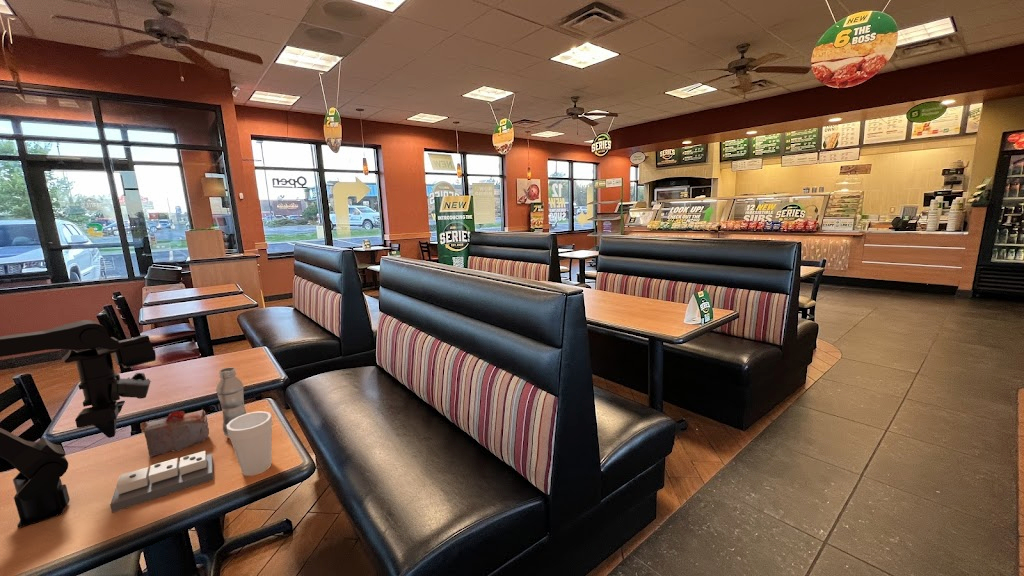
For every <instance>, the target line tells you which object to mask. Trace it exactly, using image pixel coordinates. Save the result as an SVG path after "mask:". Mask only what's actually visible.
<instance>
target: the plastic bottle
mask: <svg viewBox="0 0 1024 576" xmlns="http://www.w3.org/2000/svg"><path fill="white" fill-rule="evenodd" d="M236 375H237V373H236V368H235V367H226V368H222V369H219V378H220V381H219V382H218V384H217V386H216V389H215V392H216V394H217V397H218V400H219V403H220V407H221V411H222V431H223V434H224V436H226V437H227V438H229V436H228V432H227V426H226V425H227V424H228V423H229V422H230V421H231V420H233V419H235V418H236V417H238V416H241V415H244V414H247V411H246V407H245V399H244V398H245V397H244V383H243V382H242V380H240V378H238V377H237V376H236Z"/></svg>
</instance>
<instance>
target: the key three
mask: <svg viewBox="0 0 1024 576" xmlns="http://www.w3.org/2000/svg"><path fill="white" fill-rule="evenodd" d="M206 453H207V452H206V450H203V451H198V452H195V453H193V454H188V455H185V456H181V457H180V459H179V463H180V465H179V469H180V474H181V475H183V474H186V473H189V472H193V471H196V470H199V469H202V468H206V467H207V457H206V455H207V454H206Z"/></svg>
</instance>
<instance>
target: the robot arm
mask: <svg viewBox="0 0 1024 576" xmlns="http://www.w3.org/2000/svg"><path fill="white" fill-rule="evenodd" d="M98 348H101V349H100V350H97V349H98ZM47 350H51V351H52V350H63V351H64V350H66V351H68V352H67V353H66V354H65V355H63V357H61V360H62V361H63V362H64V363H65V364H68V363H73V362H75V363H76V367H77V372H78V377H79V381H80V383H79V384H78V388H79V391H80V390H82V393H83V397H84V398H83V399H84V400H83V402H82V406H83V409H82V410H81V411H80V412H79V413H78V415H77V416H76V418H75V419H74V420H75V421H74V422H75V425H76V428H77V429H81V428H85V427H90V426H94V427H95V428H97V430H99V431H100V432H101V433H102V434H103V435H105V436H106V437H107V438H109V439H111V438H113V437H114V438H115V435H116V431H117V430H116V429H117V418H118V416H119V414H120V413H121V411H122V409H123V406H124V405H125V403H126V401H125V400H121V398H137V399H145V398H146V397H147V394H148V392H149V388H150V385H151V382H152V381H151V380H150V378H146V375H145V373H144V372H136V373H134V375H133V376H132V377H127V378H121V375H120V373H118V372H115V367H114V362H115V364H116V366H121V365H122V367H123V368H124V369H127V368H132V367H136V366H141V365H144V364H147V363H151V362H155V361H156V357H157V356H156V350H155V348H154V347H153V344H152V341H150V336H149V335H147V334H143V335H138V336H135V337H131V338H126V339H122V340H119V339H117V338H116V337H114V336H110V335H109V331H108V329H107V328H106V327H105V326H104V325H102V324H100V323H99V322H97V321H95V320H93V319H92V320H91V319H83V320H82V319H81V320H77V321H74V322H70V323H64V324H62V325H58V326H56V327H53V328H49V329H46V330H39V331H32V332H26V333H25V332H24V333H15V334H8V335H2V336H1V335H0V358H1V357H2V358H3V357H9V356H14V355H21V354H28V353H35V352H36V353H37V352H41V351H47ZM112 355H113V358H114V362H113V359H112ZM120 400H121V401H120ZM88 406H90V407H88ZM84 407H85V408H84ZM0 459H3V460H6V461H7V462H8V463H9V464H10V465H12V466H13V467H14V469H16V470H17V471H18V473H17V474H16V475H15V477H14V478H13V479H12V482H13V485H14V489H15V492H16V494H14V496H13V501H14V503H15V507H16V511H17V514H18V517H19V522H18V523H17V528H22V527H26V526H29V525H33V524H36V523H38V522H42V521H45V520H49V519H51V518H54V517H58V516H61V515H63V513H64V511H65V509H66V507H67V506H68V504H69V503H70V500H71V499H70V496H69V492H68V488H67V485H66V484H63V483H62V480H61V479H62V477H63V476H64V475H65V474H66V473H67V470H68V468H69V461H68V460H67V458H66V453H65V451H64V449H63V447H62V445H61V444H55V443H54V442H53V443H52V442H51V441H50V440H48V439H47V438H46V437H44V436H42V437H41V438H40V439H39V440H38V441H37V442H36V441H31V440H26V439H24V438H22V437H20V436H18V435H15V434H13V432H9V431H8V430H6V429H4V428H1V427H0Z"/></svg>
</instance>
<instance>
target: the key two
mask: <svg viewBox="0 0 1024 576" xmlns="http://www.w3.org/2000/svg"><path fill="white" fill-rule="evenodd" d="M179 463H180V461H179V458H178V457H176V458H172V459H169V460H166V461H162V462H158V463H154V464H152V465H150V468H149V481H150V484H151V483H154V482H158V481H161V480H164V479H167V478H171V477H174V476H177V475H178V470H179Z"/></svg>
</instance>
